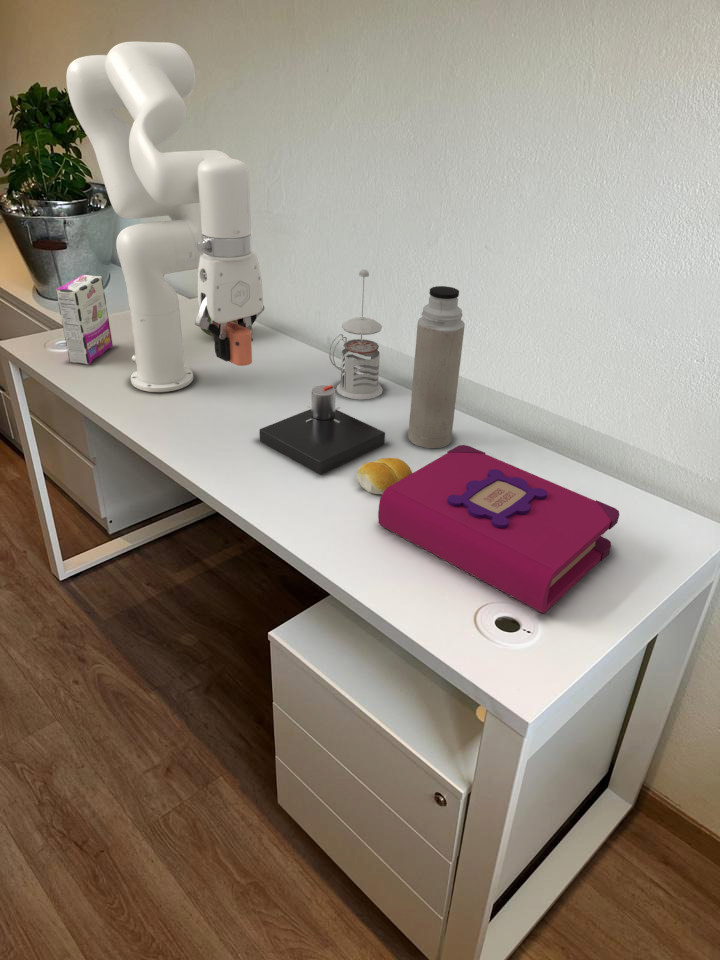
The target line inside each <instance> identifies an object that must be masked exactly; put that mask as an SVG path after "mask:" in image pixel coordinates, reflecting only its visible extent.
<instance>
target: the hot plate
mask: <svg viewBox="0 0 720 960" xmlns="http://www.w3.org/2000/svg"><path fill="white" fill-rule="evenodd" d="M306 408H307V410H303V411H302V412H300V413H297V414H295V415H292V416H290V417H286V418H284V419H282V420H280V421H277V422H275V423H272V424H269V425H266V426H264V427H261V428H259V430H258V431H259V442H260V443H261V444H264V445H265V446H267V447H269V448H271V449H273V450H275V451H276V452H277V453H280V454H283V455H284V456H285V457H287V458H290V459H291V460H293V461H294V462H296V463H298V464H301V466H304V467H305V468H307V469H309V470H311V471H313V472H315V473H317V474H318V475H320V476H322V475H324V474H326V473H328V472H330V471H332V470H334V469H336V468H339V467H341V466H343V465H344V464H347V463H348V462H351V461H353V460H355V459H357V458H359V457H361V456H363V455H366V454H368V453H370V452H371V451H374V450H376V449H378V448H380V447H382V446H385V443H386V432H385V431H383V430H380V429H379V428H377V427H374V426H373V425H370V424H368V423H367V422H364V421H362V420H359V419H358V418H355V417H354V416H351V415H349V414H347V413H346V412H343V411H341V410H340V409H341V407H335V416H334V417H333V418H332V419H328V420H319V419H316V418H314V417H313V416H312V406H307V407H306Z"/></svg>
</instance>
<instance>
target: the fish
mask: <svg viewBox="0 0 720 960" xmlns="http://www.w3.org/2000/svg"><path fill="white" fill-rule="evenodd" d="M218 328H219V325H218ZM226 337H227V338H229V342H230V361H228V362H229V363H231V364H233V365H235V366H239V367H242V366H243V367H245V366H249V365H251V364H252V363H253V349H252V348H253V347H252V343H253V341H254V338H252V330H250V329H247V328H245V327H243V326H241V325H238V324H236V323H234V322H231V321H230V322H227V333H226Z"/></svg>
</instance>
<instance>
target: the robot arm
mask: <svg viewBox="0 0 720 960" xmlns="http://www.w3.org/2000/svg"><path fill="white" fill-rule="evenodd" d="M65 75H66V76H65V77H66V78H65V79H66V80H65V81H66V89H67V94H68V97H69V101H70V105H71V107H72V110H73V113H74V115H75V116H76V119H77V121H78V122H79V124H80V126H81V128H82V130H83V131H84V133H85V134H86V136H87V138H88V139H89V141H90V144H91V146H92V148H93V151H94V153H95V157H96V161H97V163H98V167H99V170H100V173H101V177H102V180H103V184H104V187H105V190H106V193H107V196H108V199H109V202H110V204H111V207H112V209H113V211H114V212H115V214H116V215H117V216H118V217H120V218H123V219H131V220H132V219H144V218H145V219H146V218H156V217H157V218H158V217H166V216H168V217H169V218H170V220H164V221H162V220H161V221H152V222H143V223H136V224H135V223H134V224H132V225H128V226H126V227H125V228H123V229H122V230H120V232H119V233H118V235H117V237H116V242H115V246H116V252H117V257H118V260H119V263H120V266H121V270H122V274H123V277H124V281H125V286H126V293H127V299H128V306H129V315H130V323H131V328H132V329H131V330H132V338H133V344H134V345H133V346H134V352H135V353H134V354H132V356H131V360H132V361H133V362H135V363H136V364H135V365H136V370H135V371H133V373H132V374H131V375H130V383H131V385H132V387H134V388H136V389H138V390H140V391H144V392H149V393H168V392H174V391H178V390H181V389H183V388H186V387H188V386H189V385H190V384H192V382H193V380H194V372H193V371H192V370H191V369H190V368H189V367H187V366H185V355H184V354H185V353H184V345H183V332H182V322H181V311H180V300H179V296H178V293H177V291H176V290H175V289H174V287H173V286H172V285H171V284H170V283H169V282H168V281H167V280H166V279H165V275H170V274H174V273H179V272H180V273H181V272H187V271H192V270H193V271H194V270H198V271H197V304H198V312H197V315H196V318H195V319H194V325H195V326H197V327H198V328H200V327H201V328H203V329H206V330H208V331H209V332H210V333H211V334H212V335H214V336H213V339H214V340H213V341H214V352H215V356H216V357H217V358H218V359H220V360H222V361H224V362H229V361H230V342H229V338H227V337H226V333H227V322H230V321H234V320H236V324H238V325H241V326H243V327H245V328H247V329H250V330H251V331H252V330H253V325H254V323H255V322H256V320H257V318H258V317H259V316H260V315H261V314H262V313H264V311H265V305H264V292H263V291H264V290H263V283H262V275H261V269H260V264H259V260H258V255H257V252H256V251H254V250H252V228H251V227H252V226H251V225H252V222H251V195H250V194H251V193H250V171H249V168H248V165H247V164H246V163H245V162H244V161H242V160H240V159H236V158H231V157H230V156H229V155H228V154H227V153H225V152H224V151H222V150H217V149H206V150H205V149H204V150H183V151H167V152H166V151H165V152H161V151H159V150H158V149H157V148H158V147H159V146H161V145H162V144H164V143H166V142H167V141H169V140H171V139H172V138H174V137H175V136H177V135H178V134H179V133H180V131H181V130H182V129H183V127H184V125H185V123H186V121H187V113H188V112H187V111H188V110H187V107H186V103H185V101H184V100H185V99H187V98H189V97H191V95H192V94H193V91H194V89H195V86H196V70H195V66H194V63H193V61H192V58H191V57H190V55H189V53H188V52H187V51H186V50H185V49H184V47H182V46H181V45H179V44H178V43H174V42H167V41H166V42H164V41H163V42H161V41H157V42H156V41H125V42H120V43H117V44H115V45H114V46H113V47H112V48H111V49H110V50H109V51H108V53H107V54H93V55H85V56H84V55H83V56H81V57H78V58H76V59H74V60H72V61H71V62H70V63H69V65H68V66H67V70H66V74H65ZM118 109H119V110H120V109H122V110H123V109H124V110H125V109H127V111H128V113H129V114H130V117H131V118H132V120H133V123H132V126H130V124H128V123H127V122H126V121H125V120H124V119H122V118H121V117H120V116H119V115H118V114H117V113H116V112H114V110H118ZM208 317H210V318H211V323H210V322H208ZM218 325H219V328H218ZM201 328H200V329H201Z"/></svg>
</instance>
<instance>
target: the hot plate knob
mask: <svg viewBox="0 0 720 960" xmlns="http://www.w3.org/2000/svg"><path fill="white" fill-rule="evenodd" d="M336 392H337V390H336V388H334V386H333V385H332V384H330V385H327V384H326V385H324V384H322V385H316V386H314V387H312V388H311V408H312V416H313V417H314V418H316V419H319V420H328V419H332V418H333V417H334V416H335V409H336V400H337V399H336V397H337V396H336V395H337V393H336Z"/></svg>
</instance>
